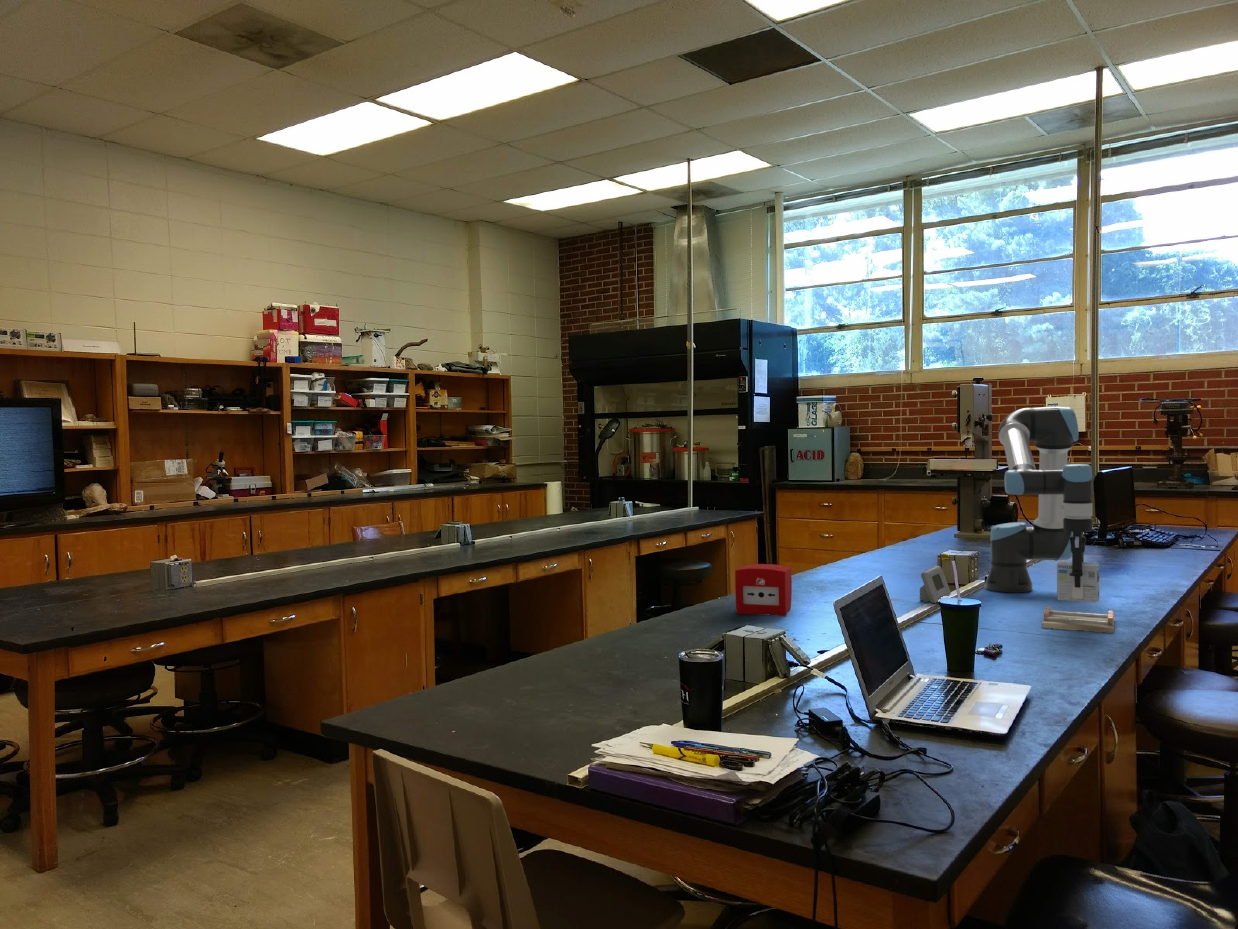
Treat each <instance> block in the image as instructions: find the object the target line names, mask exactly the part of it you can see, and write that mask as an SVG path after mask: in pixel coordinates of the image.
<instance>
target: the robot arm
mask: <svg viewBox="0 0 1238 929" xmlns="http://www.w3.org/2000/svg"><path fill="white" fill-rule="evenodd" d="M1078 424H1079V423H1078V419H1077V415H1076V413H1075V410H1074V409H1073V408H1072V407H1069V406H1043V407H1042V406H1041V407H1023V408H1018V409H1016V410H1014V411H1012V412H1011V413H1009V414H1008V415H1006V416H1005V417H1004V418H1003V420H1002V421H1001V423H1000V425H999V426H998V431H997V435H998V440H999V442H1000V444H1001V445H1002V446H1003V448H1004V453H1005V458H1006V462H1007V466H1008V470H1006V471H1005V473H1004V477H1003V478H1004V482H1003V483H1004V492H1005V493H1006V494H1008V495H1015V496H1016V495H1017V496H1021V495H1024V496H1026V495H1027V496H1029V495H1032V496H1033V495H1034V496H1035V495H1037V496H1038V513H1037V514H1038V515H1037V516H1038V517H1036V518H1035V519H1034V520H1033V522H1032V524H1033V526H1028V525H1027V523H1026V522H1022V521H1021V522H1020V521H1019V522H1015V521H1014V522H1007V523H1006V522H1005V523H999V524H996V525H994V526H992V527H991V530H990V538H989V540H990V568H989V571H988V574H987V578H986V580H985V589H987V590H990V591H993V592H1001V593H1026V592H1031V591H1033V582H1032V578H1031V576H1030V574H1029V571H1028V567H1027V564H1028V563H1027V561H1055V562H1059V561H1067V560H1069V559H1071V562H1072V573H1070V576H1072V598H1077V599H1083V576H1082V575H1083V572H1082V562H1085V561H1084V556H1085V551H1086V543H1087V542H1086V541H1087V538H1086V536H1084V534H1083V533H1088V532H1089V533H1090V532H1093V519H1092V517H1093V476H1094V475H1093V470H1092V469H1093V468H1092V466H1091V465H1090V464H1088V463H1087V464H1085V463H1081V464H1080V463H1073V464H1071V463H1070V464H1068V452H1069V451H1070V450H1071V449H1072V448H1073V443H1075V442H1078V440H1079V425H1078ZM1030 443H1034V447H1035V449H1036V450H1038V451H1039V459H1038V460H1039V464H1038V466H1039V469H1036V464H1035V460H1034V457H1033V454H1032V450H1031V446H1030ZM1075 570H1077V571H1075Z"/></svg>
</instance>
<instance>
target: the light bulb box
mask: <svg viewBox="0 0 1238 929" xmlns="http://www.w3.org/2000/svg"><path fill="white" fill-rule="evenodd" d="M1075 571H1077V570H1075ZM1082 572H1083V575H1082V576H1083V599H1077V598H1072V576H1070V573H1072V561H1067V560H1058V561H1057V564H1056V586H1057V587H1056V593H1057V594H1056V597H1057V598H1056V599H1057V601H1069V602H1070V601H1071V602H1085V603H1098V602H1099V600H1100V564H1099V562H1089V561H1088V562H1087V561H1086V562H1085V561H1084V562H1082Z"/></svg>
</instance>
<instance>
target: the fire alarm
mask: <svg viewBox="0 0 1238 929" xmlns="http://www.w3.org/2000/svg"><path fill="white" fill-rule="evenodd" d="M734 571H735V572H734V577H735V578H734V580H735V582H734V585H735V589H734V590H735V610H736V611H735V613H736V614H737V615H738V614H739V615H753V614H769V615H768V616H772V615H779V616H778V617H787V616H786V615H788V613H789V612H790V611H791V610H790V609H792V594H793V593H792V592H793V591H792V589H793V586H792V584H793V580H792V567H791V566H786V565H780V564H771V563H767V564H766V563H756V564H755V563H754V564H753V563H752V564H749V565H748V564H747V565H743V566H741V567H739V568H738V569H735V570H734ZM789 610H790V611H789ZM788 611H789V612H788Z"/></svg>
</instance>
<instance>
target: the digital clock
mask: <svg viewBox="0 0 1238 929" xmlns="http://www.w3.org/2000/svg"><path fill="white" fill-rule="evenodd" d="M920 577H921V580H922V583H923V585H922V586H921V587H919V601H920V600H923V601H922V602H925V601H931V602H933V603H932V604H934V603H935V604H937V603H936V602H938V600H939V599H941V597H943V596H948V597H950V595H951V594H952V593H951V590H950V587H949V585H948V582H947V579H946V576H945V574H944V571H943V569H942V567H941V566H940V565H935V566H931V567H930V568H928V569H926V570H924V571H923V572H921V573H920ZM931 602H930V603H931Z"/></svg>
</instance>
